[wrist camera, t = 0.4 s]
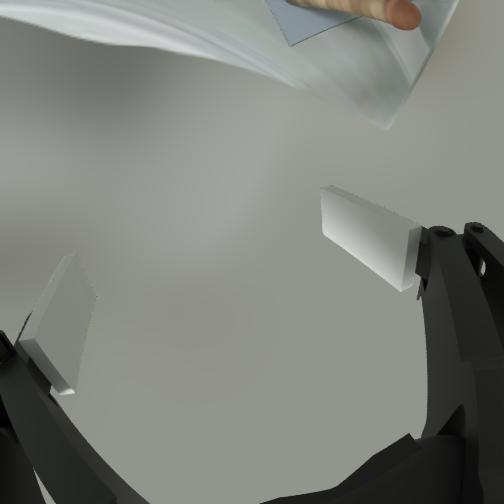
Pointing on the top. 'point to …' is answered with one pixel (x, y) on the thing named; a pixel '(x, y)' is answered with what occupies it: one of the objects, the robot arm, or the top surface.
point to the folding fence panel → (372, 10)
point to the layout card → (305, 19)
